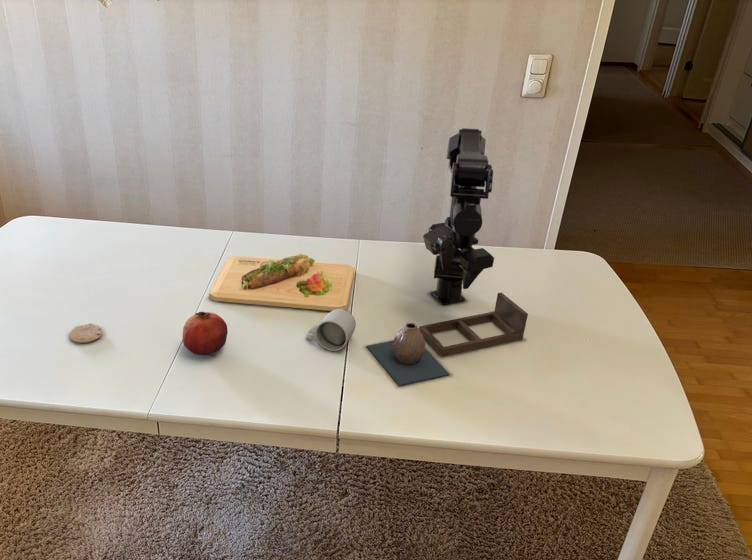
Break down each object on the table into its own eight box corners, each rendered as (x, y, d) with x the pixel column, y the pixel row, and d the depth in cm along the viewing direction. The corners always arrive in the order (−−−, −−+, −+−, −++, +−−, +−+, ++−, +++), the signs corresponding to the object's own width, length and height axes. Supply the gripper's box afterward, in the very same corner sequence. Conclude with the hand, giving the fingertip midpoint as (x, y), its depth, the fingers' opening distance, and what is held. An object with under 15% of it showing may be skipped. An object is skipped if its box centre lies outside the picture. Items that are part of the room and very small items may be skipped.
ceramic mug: (356, 336, 170) (358, 307, 165) (346, 354, 163) (347, 325, 159) (314, 328, 173) (314, 299, 169) (302, 345, 167) (302, 316, 163)
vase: (422, 369, 158) (426, 335, 153) (390, 366, 159) (393, 332, 154) (423, 352, 163) (427, 318, 158) (392, 349, 164) (395, 315, 160)
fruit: (192, 368, 160) (189, 329, 154) (176, 346, 167) (172, 308, 161) (236, 355, 164) (234, 317, 158) (218, 334, 171) (216, 297, 165)
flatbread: (100, 343, 168) (99, 339, 168) (67, 345, 168) (66, 341, 167) (104, 325, 175) (103, 321, 174) (72, 326, 174) (71, 323, 174)
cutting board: (354, 270, 197) (356, 245, 193) (345, 314, 178) (347, 286, 174) (229, 260, 203) (228, 236, 199) (207, 302, 184) (205, 275, 180)
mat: (366, 347, 166) (366, 345, 166) (413, 337, 169) (414, 336, 169) (399, 386, 153) (399, 384, 153) (449, 375, 157) (449, 373, 156)
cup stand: (418, 333, 171) (421, 307, 167) (496, 317, 176) (501, 292, 172) (441, 357, 162) (445, 330, 158) (522, 339, 168) (528, 313, 164)
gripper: (410, 204, 162) (404, 266, 171) (452, 239, 147) (443, 305, 156) (455, 197, 165) (446, 259, 174) (500, 231, 150) (488, 296, 159)
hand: (454, 279), depth 166 cm, fingers open, 9 cm apart
